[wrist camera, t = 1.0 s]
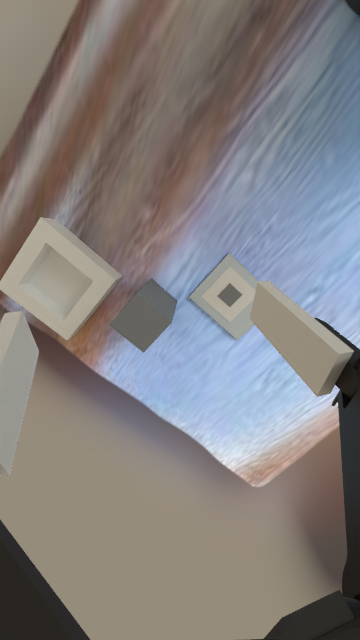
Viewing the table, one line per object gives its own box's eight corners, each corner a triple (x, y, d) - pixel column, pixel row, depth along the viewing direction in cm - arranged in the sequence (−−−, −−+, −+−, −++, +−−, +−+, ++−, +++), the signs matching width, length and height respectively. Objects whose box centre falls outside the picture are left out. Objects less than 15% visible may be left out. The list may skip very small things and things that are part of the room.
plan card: (229, 252, 42) (229, 253, 42) (278, 299, 44) (279, 300, 44) (189, 296, 45) (188, 297, 44) (237, 339, 47) (238, 340, 46)
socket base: (56, 219, 42) (40, 217, 38) (122, 276, 44) (115, 280, 40) (15, 282, 46) (-4, 286, 42) (78, 331, 48) (67, 340, 44)
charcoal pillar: (151, 278, 44) (136, 292, 33) (177, 300, 45) (171, 322, 34) (130, 303, 46) (109, 325, 35) (155, 324, 47) (143, 352, 36)
